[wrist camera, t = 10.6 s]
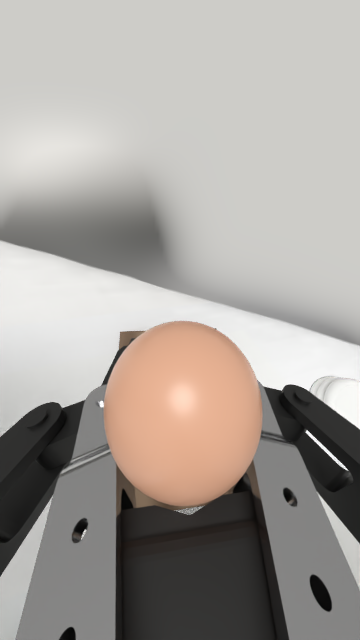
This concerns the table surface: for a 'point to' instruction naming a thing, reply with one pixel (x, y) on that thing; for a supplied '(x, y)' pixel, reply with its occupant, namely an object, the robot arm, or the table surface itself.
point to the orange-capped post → (183, 413)
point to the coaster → (340, 396)
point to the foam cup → (345, 541)
